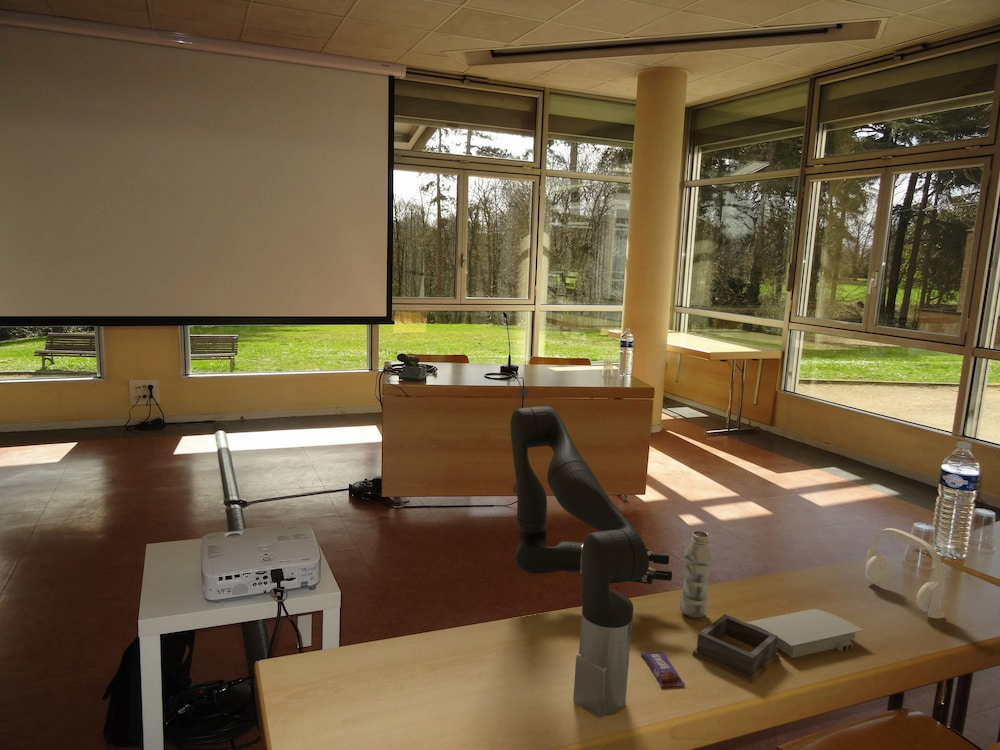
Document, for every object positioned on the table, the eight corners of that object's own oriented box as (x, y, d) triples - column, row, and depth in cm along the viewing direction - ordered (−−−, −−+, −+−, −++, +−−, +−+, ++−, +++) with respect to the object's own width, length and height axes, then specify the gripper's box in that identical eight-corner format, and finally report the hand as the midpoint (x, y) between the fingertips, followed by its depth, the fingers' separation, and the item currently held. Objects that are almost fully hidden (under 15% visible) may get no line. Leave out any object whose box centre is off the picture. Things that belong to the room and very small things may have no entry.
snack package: (640, 648, 147) (663, 647, 147) (639, 657, 147) (662, 656, 148) (661, 682, 135) (686, 681, 136) (660, 691, 136) (685, 690, 137)
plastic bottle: (703, 608, 167) (712, 529, 164) (709, 623, 161) (718, 541, 157) (676, 605, 168) (684, 527, 164) (680, 620, 161) (688, 538, 158)
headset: (856, 584, 183) (866, 520, 180) (877, 581, 186) (886, 517, 183) (925, 623, 165) (937, 552, 162) (946, 619, 167) (959, 549, 164)
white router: (871, 649, 154) (874, 632, 153) (790, 668, 145) (792, 651, 144) (817, 614, 168) (819, 599, 167) (740, 630, 159) (742, 614, 158)
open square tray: (751, 683, 139) (754, 660, 138) (692, 655, 147) (694, 633, 147) (778, 657, 148) (781, 636, 147) (721, 632, 157) (723, 612, 156)
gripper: (601, 558, 158) (674, 565, 156) (601, 533, 172) (669, 540, 169) (598, 589, 159) (671, 597, 157) (599, 561, 173) (666, 569, 171)
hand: (670, 567), depth 163 cm, fingers open, 8 cm apart
